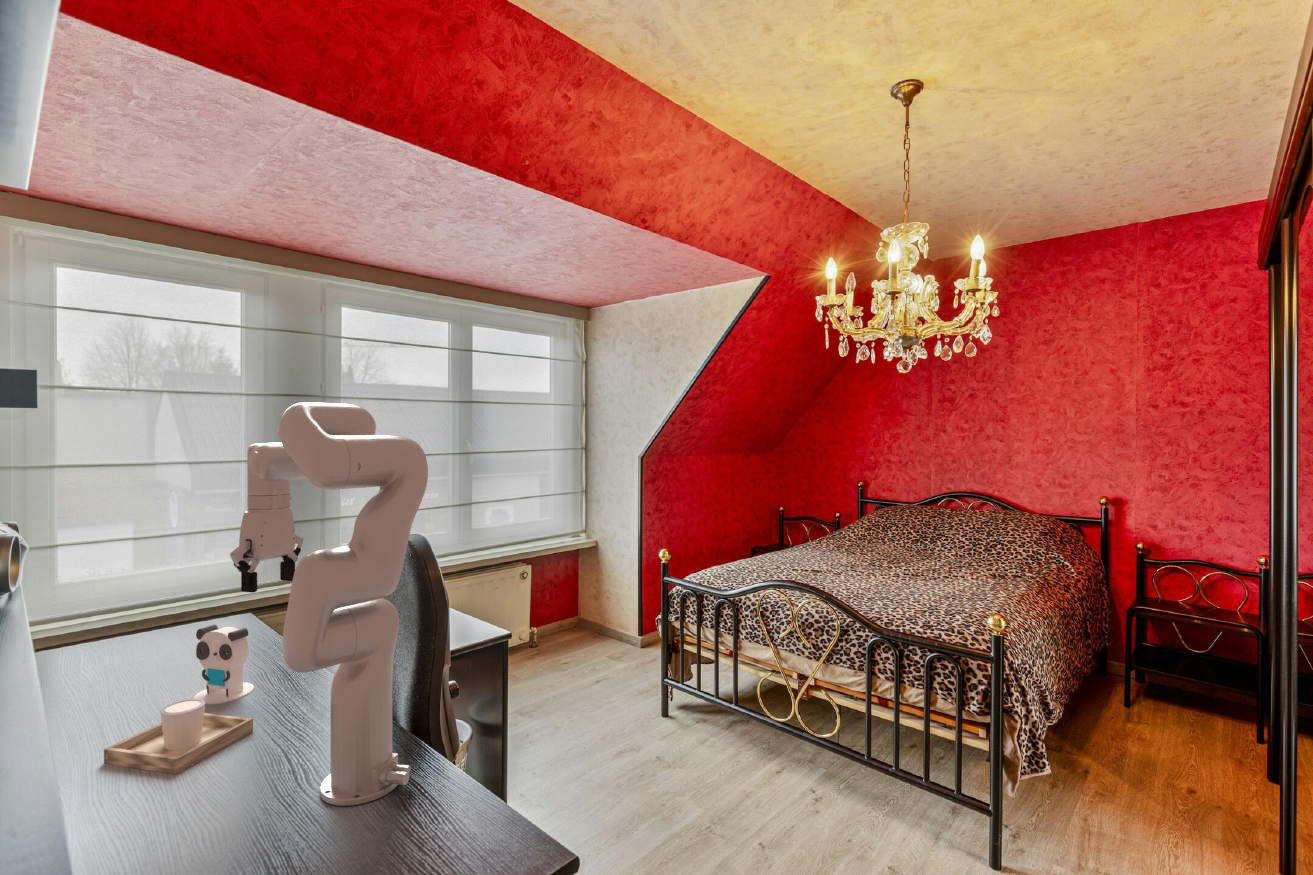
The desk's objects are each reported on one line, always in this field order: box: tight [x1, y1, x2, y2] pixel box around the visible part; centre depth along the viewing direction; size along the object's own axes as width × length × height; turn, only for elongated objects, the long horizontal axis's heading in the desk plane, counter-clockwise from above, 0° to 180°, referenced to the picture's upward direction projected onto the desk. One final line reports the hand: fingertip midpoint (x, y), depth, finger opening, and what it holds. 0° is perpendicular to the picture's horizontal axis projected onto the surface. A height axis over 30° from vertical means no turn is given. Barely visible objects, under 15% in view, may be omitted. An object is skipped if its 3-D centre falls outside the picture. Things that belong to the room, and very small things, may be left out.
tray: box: [103, 712, 254, 775], centre depth 119 cm, size 16×16×3 cm
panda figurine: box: [193, 624, 255, 705], centre depth 144 cm, size 12×11×15 cm
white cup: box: [159, 698, 206, 750], centre depth 119 cm, size 7×7×7 cm
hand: (269, 585), depth 129 cm, fingers open, 9 cm apart
